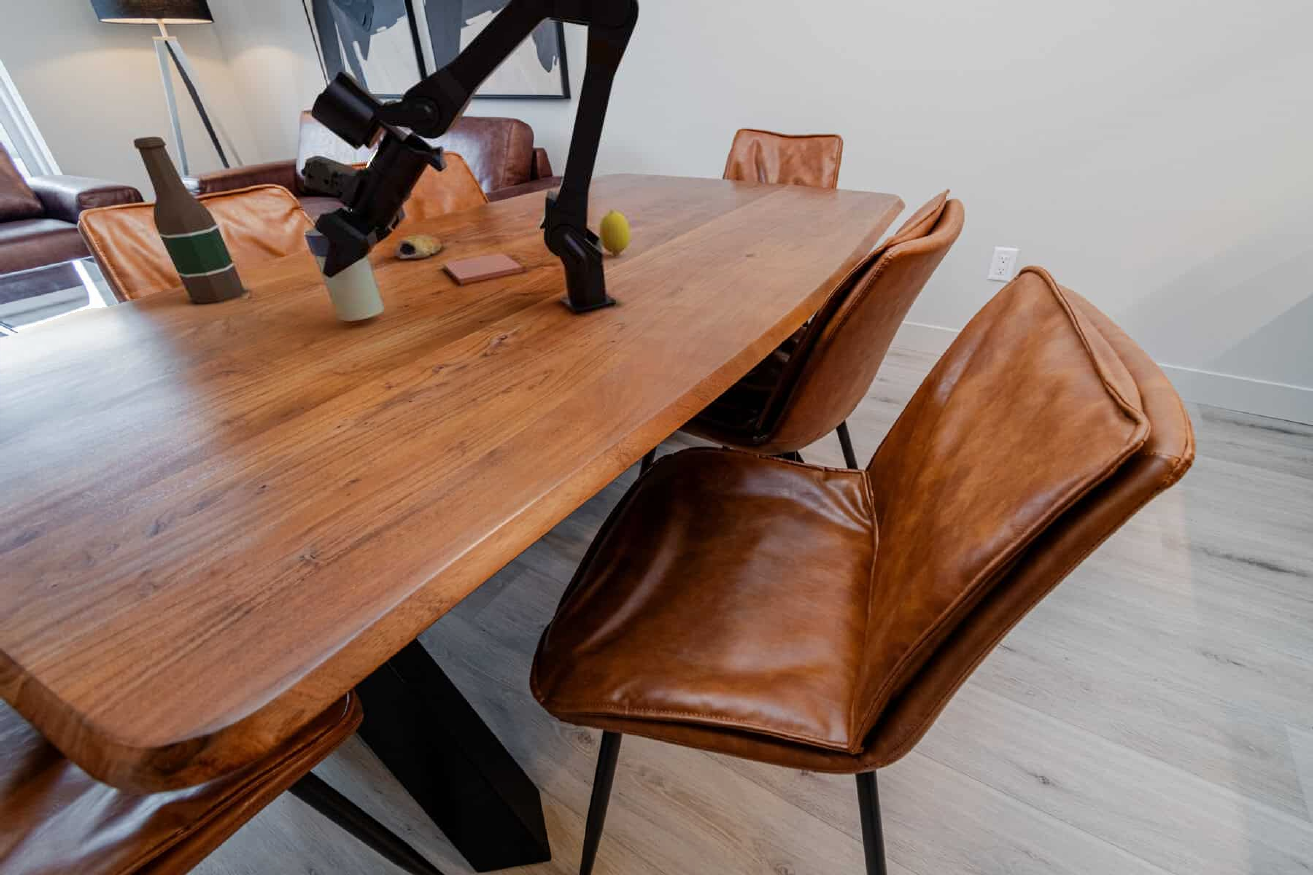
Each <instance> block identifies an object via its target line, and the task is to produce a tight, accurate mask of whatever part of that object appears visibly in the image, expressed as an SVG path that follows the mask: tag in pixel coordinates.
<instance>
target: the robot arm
mask: <svg viewBox="0 0 1313 875" xmlns="http://www.w3.org/2000/svg"><path fill="white" fill-rule="evenodd" d="M639 10H640V4H639V0H510V1H509V2H507V4H506V5H505V6H504V7H503V8H502V9H501V10H500V11H499V12H498V13H497V14H496V15H495V16H494V18H492V20H491V21H489V23H488V24H486V26H485V27H484V28H483V29H482V30H481V31H480V32H479V33H477V35H476V36H475V37H474V38H473V39H472V40H471V42H469V43H468V44H467V46H466V47H464V49H462V51H460V53H459V54H458V55H457V56H456V57H455V58H454V59H453V60H451V61H450V62H449V63H447V64H446V65H444V66H443V67H441V68H439V69H438V70H435V71H434V72H433V73H431V74H430V75H427V76H426V77H424V78H423V79H422V80H420V81H419V82H417V83H416V84H414V85H413V86H411V87H410V88H408V89H407V90H406V91H405V92H404V94H403V96H402V98H401V100H399V101H397V100H396V99H392V100H388V101H382V100H380V98H378V97H376V95H374V94H373V93H372V92H370V91H369V90H368V89H366V88H365V87H364V86H363V85H362V84H360V82H359V81H358V80H357V79H356V78H355V77H354V76H353V75H352V74H350V73H349V72H348V71H346V70H343V71H338V72H337V73H336V76H335V78H334V79H333V80H331V82H330V83H328V85H327V86H326V87H325V88H324V90H323V91H322V92H319V93H318V95H317V97H316V98H315V101H314V103H313V105H312V108H311V112H310V113H311V117H312V118H313V119H314V120H315V121H316V122H318V123H319V124H320V125H322V126H323V127H325V128H326V129H327V130H329V131H330V132H331V133H333V134H334V135H335V136H337V137H338V138H340V139H341V140H342V141H344V142H345V143H346V144H348V145H349V146H350V147H351V148H353V149H354V150H357V151H359V149H361V148H362V147H363V146H364V147H365V148H367V149H368V150H371V149H372V148H373V147H374V146H375V145H376V144H377V143H378V141H379V139H380V138H381V136H382V135H383V133H384V131H385V134H384V136H383V138H382V140H381V141H380V143H379V145H378V146H377V148H376V150H374V153H373V155H372V157H371V158H370V160H369V161H368V163H367V165H365V167H362V168H358V169H357V168H355V167H352V166H350V165H349V164H345V163H342V162H339V161H336V160H335V159H331V158H328V157H325V156H322V155H314V156H311V157H309V158H306V159H305V162H304V166H303V168H302V169H301V170H300V174H301V175H302V176H303V177H304V186H305V187H307V188H309V189H311V190H320V191H322V192H325V193H328V194H331V195H334V196H338V197H340V198H339V200H338V202H339V203H340V204H341V205H342V206H344V207H346V209H347V210H346V209H345V208H343V207H342V206H340V207H339V206H338V207H331V208H328V209H327V210H325V211H324V212H322V213H320V214H319V216H318V218H317V220H316V222H315V223H314V225H313V228H315V229H316V230H317V231H318V232H320V233H321V234H323V235H324V236H326V237H327V238H328V240H329V244H328V250H327V255H326V259H325V264H324V269H323V274H324V275H325V276H327V277H329V278H332V277H333V276H335V275H336V274H338V273H340V272H341V271H343V270H344V269H346V268H348V267H349V266H351V265H353V264H354V263H356V262H357V261H359V260H361V259H363V258H365V257H366V256H369V254H371V253H372V251H373V249H374V248H375V246H376V245H377V244H379V243H380V242H382V241H383V240H385V239H386V238H388V237H389V236H390V235H392V233H393V230H394V231H395V230H396V229H397V228H398V227H400V225H401V223H402V222H403V221H404V219H405V218H406V214H405V211H404V210H405V209H404V207H403V206H404V204H405V203H406V202H407V201H408V200H410V198H411V196H412V195H413V193H412V192H413V190H414V188H415V187H416V185H417V183H418V181H419V180H420V178H421V177H422V176H423V174H424V172H425V170H426V169H427V168H428V166H430V167H432V168H433V169H434V170H436V171H437V172H438V173H441V172H443V171H444V170H445V169H446V168H447V167H448V163H447V161H446V157H445V151H444V149H445V148H444V146H442V145H439V146H433V145H431V144H430V143H428V142H427V141H426V140H425V139H429V140H435V139H438V138H440V137H443V136H444V135H446V134H447V133H450V132H451V131H453V130H454V128H455V127H456V125H457V124H458V122H459V120H460V119H462V116H463V115H464V113H465V112H466V111H467V109H468V107H469V105H470V104H471V102H472V101H473V99H474V97H475V95H476V93H477V92H478V90H480V87H481V86H482V85H483V84H484V83H485V82H486V81H487V80H488V79H489V78H490V77H491V76H493V74H494V73H495V72H496V71H497V70H498V69H499V68H500V67H501V66H502V65H503V64H504V63H505V62H506V61H507V60H508V59H509V58H510V57H511V56H512V55H513V54H514V53H515V52H516V51H517V50H518V49H519V48H520V47H521V46H522V45H523V44H524V43H525V42H526V41H527V40H528V39H529V38H530V37H531V35H533V33H535V32H536V31H537V29H539V27H540V26H541V25H543V24H544V23H545V22H547V21H553V22H560V23H565V24H570V25H571V24H572V25H577V26H582V27H587V29H586V30H587V31H586V54H585V69H584V75H583V79H582V84H581V88H580V94H579V99H578V104H577V108H576V114H575V119H574V123H573V129H572V133H571V138H570V143H569V148H568V153H567V157H566V163H565V167H564V173H563V177H562V180H561V183H560V185H559V188H558V190H557V192H555V191H553V190H550V189H547V192H546V194H545V198H544V199H545V201H544V202H545V203H544V213H543V215H542V217H541V220H540V224H539V230H543V231H544V232H543V241H544V242H543V243H544V244H545V246H546V248H547V250H548V251H549V252H551V254H552V255H554V256H556V257H558V258H559V260H560V261H561V263H562V265H563V271H564V277H565V279H564V280H565V287H566V294H567V296H562V297H560V298H559V302H560V303H562V304H563V305H564V306H566V307H567V308H568V309H570V310H571V311H573V312H574V313H576V314H579V313H583V312H588V311H592V310H596V309H600V308H601V309H602V308H605V307H609V306H613V305H616V304H617V300H616V299H614V298H613V297H611V296H610V295H609V294H607V288H606V287H607V286H606V277H605V266H604V259H603V258H604V251H603V245H602V240H601V238H600V237H599V235H597V234H596V233H595V232H594V231H593V230H592V229H591V228H589V227H588V217H589V216H588V214H589V213H588V212H589V191H590V186H591V183H592V177H593V173H594V168H595V164H596V159H597V156H598V151H599V146H600V142H601V137H602V133H603V128H604V125H605V119H606V115H607V110H608V106H609V102H610V98H611V93H612V88H613V84H614V79H615V77H616V73H617V71H618V69H619V66H620V64H621V62H622V61H623V60H622V59H623V58H624V55H625V52H626V50H627V48H628V46H629V43H630V41H631V38H632V35H633V33H634V31H635V28H636V25H637V23H638V19H639V12H640V11H639ZM400 128H407V129H409V130H410V131H411V132H410V133H409V134H408V133H406V132H405V131H403V130H402V129H400Z"/></svg>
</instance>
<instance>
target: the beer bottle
mask: <svg viewBox="0 0 1313 875" xmlns="http://www.w3.org/2000/svg"><path fill="white" fill-rule="evenodd" d="M165 146H167V143H166V142H165V141H164V140H163V138H162V137H159V136H146V137H138V138H134V139H133V147H134V148H135V149H137V150H138V151H139V152H138V153H139V154H140V156H141V159H142V162H143V164H144V167H145V169H146V172H147V174H148V177H149V179H150V181H151V184H152V187H153V190H154V195H155V202H154V206H153V210H152V213H153V222H154V225H155V227H156V230H157V233H158V235H159V237H160V240H161V241H162V243H163V245H164V248H165V249H166V251H167V254H168V256H169V257H170V259H171V261H172V263H173V266H174V268H175V270H176V273H177V274H178V277H179V278H180V281H181V283H182V284H183V288H184V289H185V290H186V293H187V294H188V296H189V298H190V299H191V300H192V301H193V302H195V303H198V304H201V305H203V304H212V303H220V302H224V301H228V300H231V299H234V298H237V297H239V296H240V295H241V294H242V293H243V292H244V286H243V283H242V280H241V278H240V276H239V274H238V271H237V269H236V266H235V264H234V261H233V259H232V258H231V255H230V252H229V250H228V248H227V247H228V246H227V245H226V243H225V241H224V239H223V236H222V234H221V231H220V229H219V227H218V224H217V222H216V220H215V218H214V217H213V215H212V212H210V210H208V208H207V207H206V206H205V205H204V204H203V202H201V201H200V200H198V199H197V198H196V197H194V195H193V194H191V193H190V191H189V190H188V189H187V187H186V186H185V183H184V182H183V180H182V178H181V176H180V174H179V173H178V170H177V169H176V167H175V165H174V162H173V161H172V158H171V156H170V155H169V153H168V151H167V149H166V147H165Z"/></svg>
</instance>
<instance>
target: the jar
mask: <svg viewBox="0 0 1313 875" xmlns="http://www.w3.org/2000/svg"><path fill="white" fill-rule="evenodd" d="M313 256H314V258H315V261H316V264H317V266H318V269H319V271H320V274H321V278H322V280H323V282H324V285H325V288H326V290H327V294H328V297H329V299H330V302H331V305H332V306H333V309H334V311H335V312H334V313H335V314H336V317H337V319H338V320H340V321H344V322H345V321H346V322H353V321H361V320H365V319H369V318H372V317H375V316H377V315H379V314H381V313H383V312H384V311H385V305H384V301H383V298H382V296H381V293H380V292H381V291H380V289H379V287H378V284H377V281H376V276H375V274H374V272H373V268H372V266H371V262H370V260H369V255H367V256H366V257H365V258H363V259H361V260H359V261H357V262H356V263H354V264H353V265H351V266H349V267H348V268H346V269H344V270H343V271H341V272H340V273H338V274H336V275H335V276H333V277H332V278H329V277H327V276H325V275H324V274H323V269H324V264H325V259H326V256H318V255H313Z"/></svg>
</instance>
